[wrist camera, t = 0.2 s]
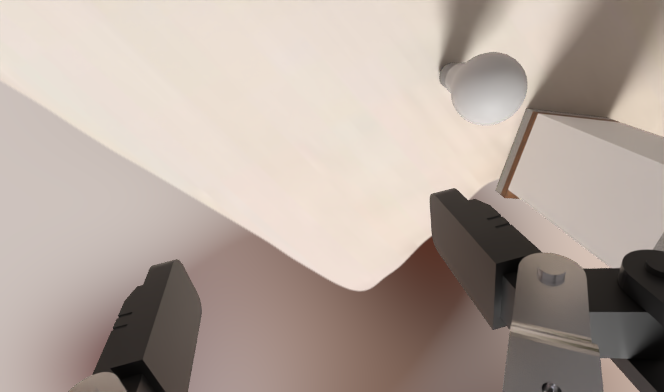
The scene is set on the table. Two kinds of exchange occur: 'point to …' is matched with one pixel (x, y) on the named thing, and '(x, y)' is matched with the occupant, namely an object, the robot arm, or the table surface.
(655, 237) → the white square pillar
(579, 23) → the table surface
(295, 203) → the table surface
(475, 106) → the lightbulb
